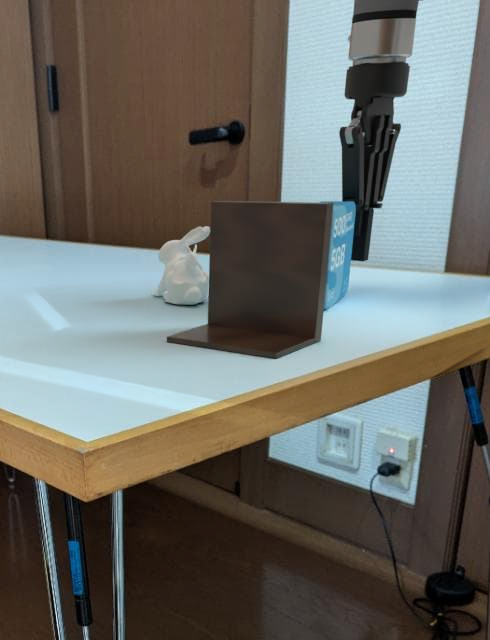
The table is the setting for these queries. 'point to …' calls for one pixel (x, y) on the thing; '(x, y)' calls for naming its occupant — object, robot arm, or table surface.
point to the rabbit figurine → (183, 270)
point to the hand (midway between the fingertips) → (356, 259)
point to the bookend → (265, 277)
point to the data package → (339, 251)
